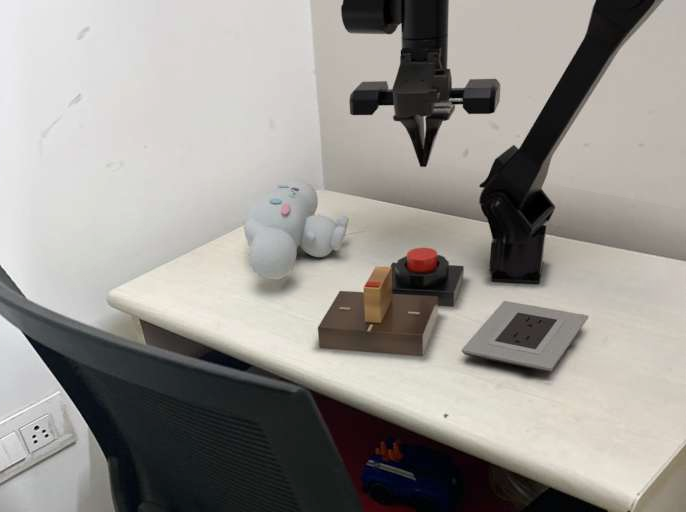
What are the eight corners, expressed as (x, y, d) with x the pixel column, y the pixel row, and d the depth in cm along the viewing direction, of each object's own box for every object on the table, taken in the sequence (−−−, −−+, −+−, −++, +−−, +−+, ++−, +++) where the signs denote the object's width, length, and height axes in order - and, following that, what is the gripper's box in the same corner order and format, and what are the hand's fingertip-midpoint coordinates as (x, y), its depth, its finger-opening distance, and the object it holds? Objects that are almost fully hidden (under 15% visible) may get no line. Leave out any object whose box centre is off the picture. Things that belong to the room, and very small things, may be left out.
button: (439, 260, 104) (439, 248, 103) (433, 273, 101) (434, 260, 100) (410, 259, 105) (410, 246, 104) (404, 272, 102) (403, 259, 101)
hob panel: (438, 317, 100) (438, 294, 97) (422, 357, 92) (422, 334, 90) (341, 311, 103) (339, 289, 101) (319, 349, 96) (317, 326, 94)
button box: (463, 280, 107) (464, 252, 104) (453, 307, 101) (454, 278, 99) (392, 277, 110) (391, 249, 107) (379, 303, 104) (378, 275, 101)
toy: (341, 259, 102) (237, 208, 100) (310, 323, 108) (212, 277, 106) (361, 191, 126) (276, 149, 123) (334, 247, 132) (254, 207, 130)
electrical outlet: (549, 385, 86) (551, 366, 84) (461, 365, 90) (461, 347, 89) (585, 331, 94) (588, 313, 92) (502, 315, 98) (504, 298, 97)
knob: (377, 299, 98) (375, 264, 95) (392, 300, 98) (391, 264, 95) (364, 322, 94) (363, 285, 91) (380, 323, 93) (379, 286, 90)
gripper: (334, 52, 92) (342, 186, 102) (492, 47, 87) (484, 188, 97) (358, 32, 100) (363, 158, 110) (504, 26, 95) (496, 159, 105)
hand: (423, 166), depth 105 cm, fingers closed
